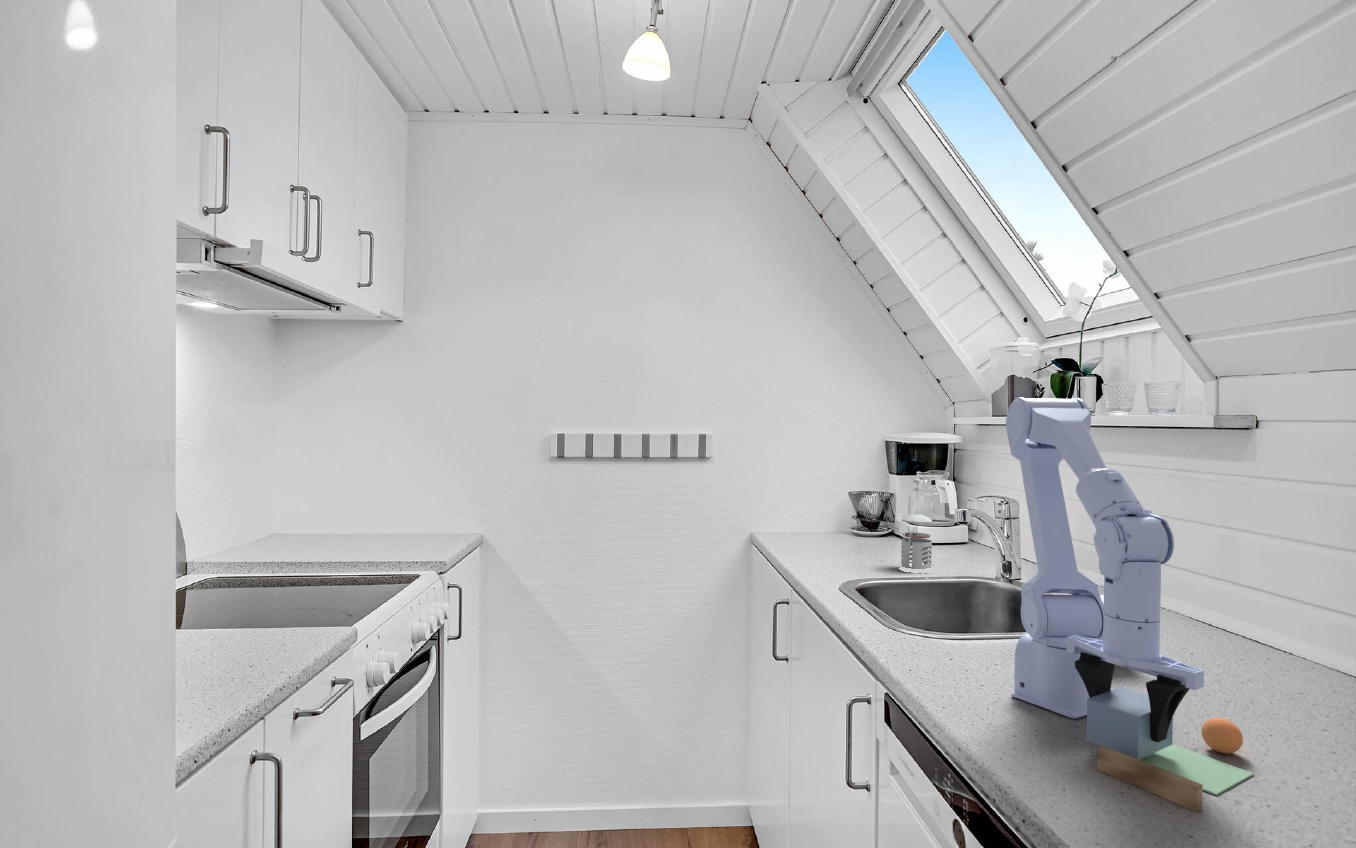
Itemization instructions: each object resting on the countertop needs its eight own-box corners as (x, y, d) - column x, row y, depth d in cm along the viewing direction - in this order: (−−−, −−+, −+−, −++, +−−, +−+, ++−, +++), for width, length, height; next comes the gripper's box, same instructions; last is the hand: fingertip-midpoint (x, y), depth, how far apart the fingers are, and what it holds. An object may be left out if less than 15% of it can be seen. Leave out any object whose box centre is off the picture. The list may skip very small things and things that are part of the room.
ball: (1194, 749, 86) (1195, 716, 86) (1210, 741, 88) (1210, 710, 88) (1233, 762, 83) (1234, 728, 83) (1248, 755, 85) (1249, 721, 85)
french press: (940, 570, 191) (942, 478, 191) (924, 577, 182) (925, 480, 182) (905, 565, 197) (906, 476, 197) (888, 571, 189) (889, 478, 189)
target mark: (1127, 760, 83) (1127, 758, 83) (1166, 743, 88) (1166, 742, 88) (1216, 795, 75) (1216, 793, 75) (1253, 775, 80) (1253, 773, 80)
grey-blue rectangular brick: (1086, 740, 85) (1087, 698, 85) (1121, 726, 89) (1121, 686, 89) (1137, 760, 80) (1138, 716, 80) (1172, 744, 84) (1172, 703, 84)
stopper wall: (1097, 769, 81) (1097, 748, 81) (1102, 767, 81) (1103, 745, 81) (1196, 812, 72) (1196, 787, 72) (1202, 808, 73) (1202, 784, 73)
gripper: (1053, 605, 88) (1051, 713, 89) (1182, 637, 76) (1180, 762, 76) (1084, 599, 92) (1083, 702, 92) (1213, 628, 80) (1211, 747, 80)
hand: (1129, 728), depth 84 cm, fingers closed on grey-blue rectangular brick, 6 cm apart
